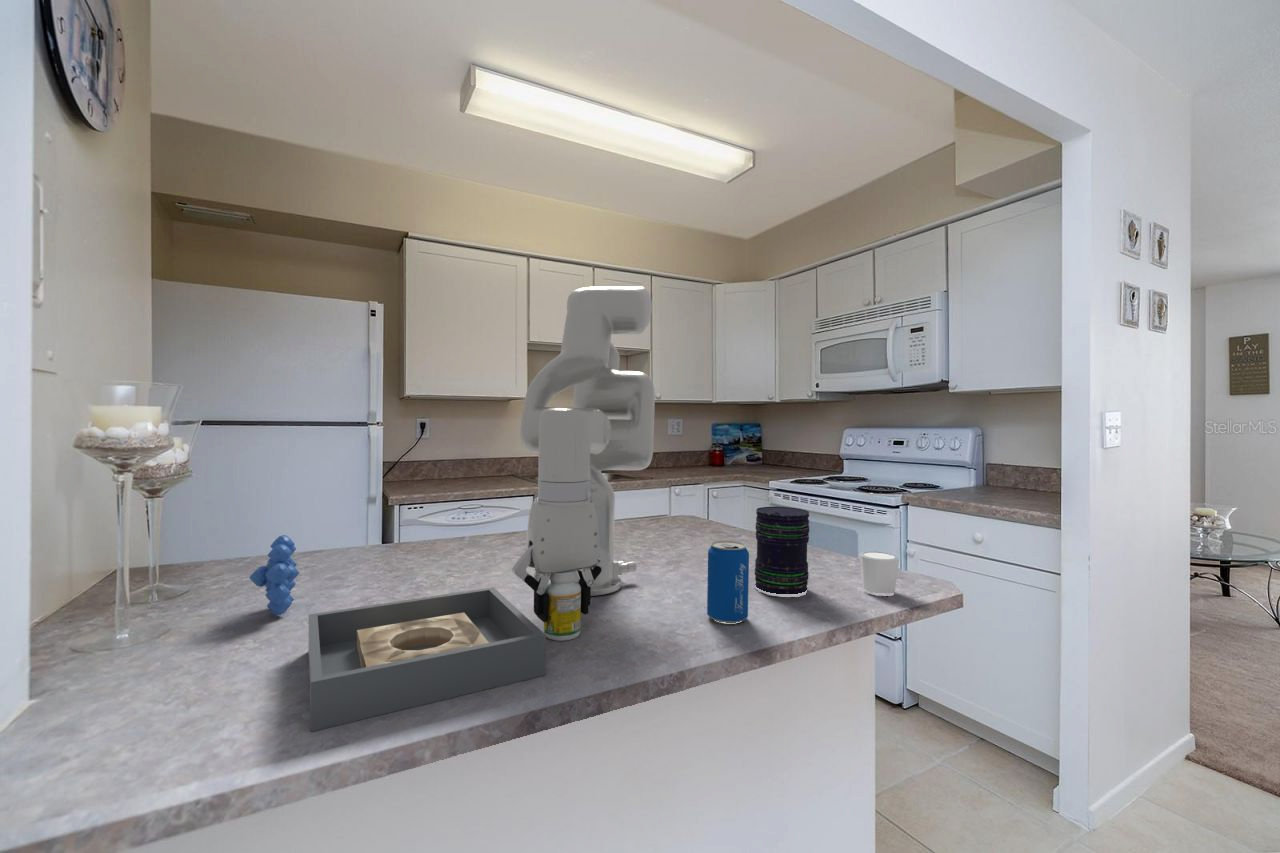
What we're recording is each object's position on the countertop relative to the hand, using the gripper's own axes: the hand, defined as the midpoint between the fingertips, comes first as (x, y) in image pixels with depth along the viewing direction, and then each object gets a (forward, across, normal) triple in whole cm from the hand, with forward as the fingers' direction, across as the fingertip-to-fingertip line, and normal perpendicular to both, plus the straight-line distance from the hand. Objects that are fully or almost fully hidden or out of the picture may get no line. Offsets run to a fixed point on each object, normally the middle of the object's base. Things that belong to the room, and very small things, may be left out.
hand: (562, 613), depth 82 cm
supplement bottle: (+3, 0, 0) cm, 3 cm away
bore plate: (+2, +20, 0) cm, 20 cm away
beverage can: (+3, -26, +7) cm, 27 cm away
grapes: (+3, +36, -31) cm, 48 cm away
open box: (+3, +20, 0) cm, 20 cm away
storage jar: (+3, -44, 0) cm, 45 cm away
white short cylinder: (+3, -60, +10) cm, 60 cm away
